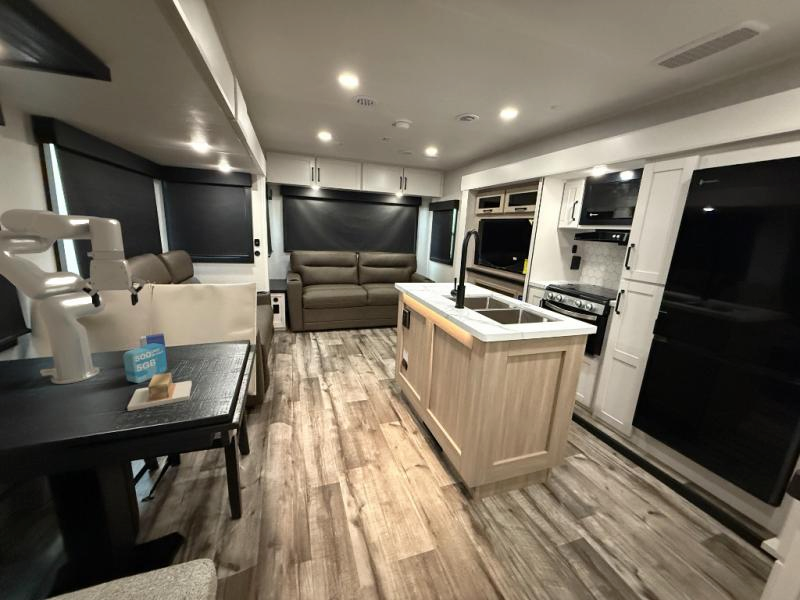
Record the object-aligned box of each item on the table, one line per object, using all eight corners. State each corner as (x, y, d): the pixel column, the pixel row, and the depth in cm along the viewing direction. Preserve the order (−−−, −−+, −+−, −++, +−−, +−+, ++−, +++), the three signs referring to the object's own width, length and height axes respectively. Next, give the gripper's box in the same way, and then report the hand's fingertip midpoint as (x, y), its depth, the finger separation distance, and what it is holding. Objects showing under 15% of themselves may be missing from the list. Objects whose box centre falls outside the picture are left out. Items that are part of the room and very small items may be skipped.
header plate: (128, 411, 97) (127, 406, 96) (137, 393, 107) (136, 389, 106) (188, 399, 105) (188, 395, 104) (191, 384, 115) (191, 380, 114)
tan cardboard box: (150, 400, 100) (148, 386, 99) (155, 387, 108) (153, 374, 107) (169, 397, 103) (167, 383, 102) (172, 385, 110) (171, 372, 109)
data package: (136, 384, 112) (131, 354, 109) (126, 382, 113) (122, 352, 110) (167, 371, 123) (164, 343, 121) (159, 369, 124) (155, 341, 122)
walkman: (166, 358, 134) (163, 332, 132) (166, 360, 132) (163, 334, 130) (143, 362, 129) (139, 335, 127) (143, 364, 127) (139, 337, 125)
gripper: (68, 256, 94) (77, 309, 98) (140, 257, 103) (145, 306, 107) (78, 254, 101) (86, 304, 105) (144, 255, 109) (150, 301, 113)
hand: (116, 305), depth 106 cm, fingers open, 9 cm apart
